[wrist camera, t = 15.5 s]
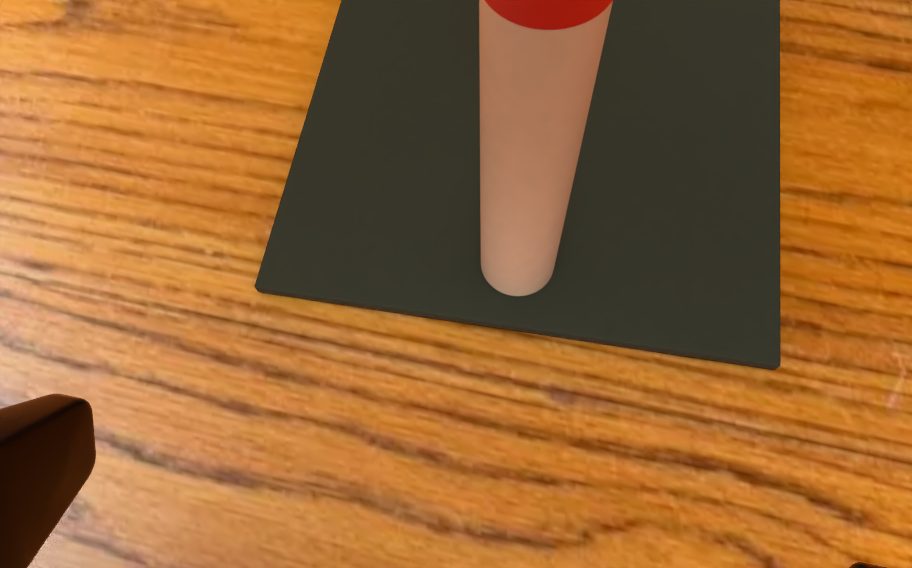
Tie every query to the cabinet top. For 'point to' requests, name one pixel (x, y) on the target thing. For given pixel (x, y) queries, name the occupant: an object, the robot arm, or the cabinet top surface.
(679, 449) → the cabinet top surface
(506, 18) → the marker
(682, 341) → the mat
